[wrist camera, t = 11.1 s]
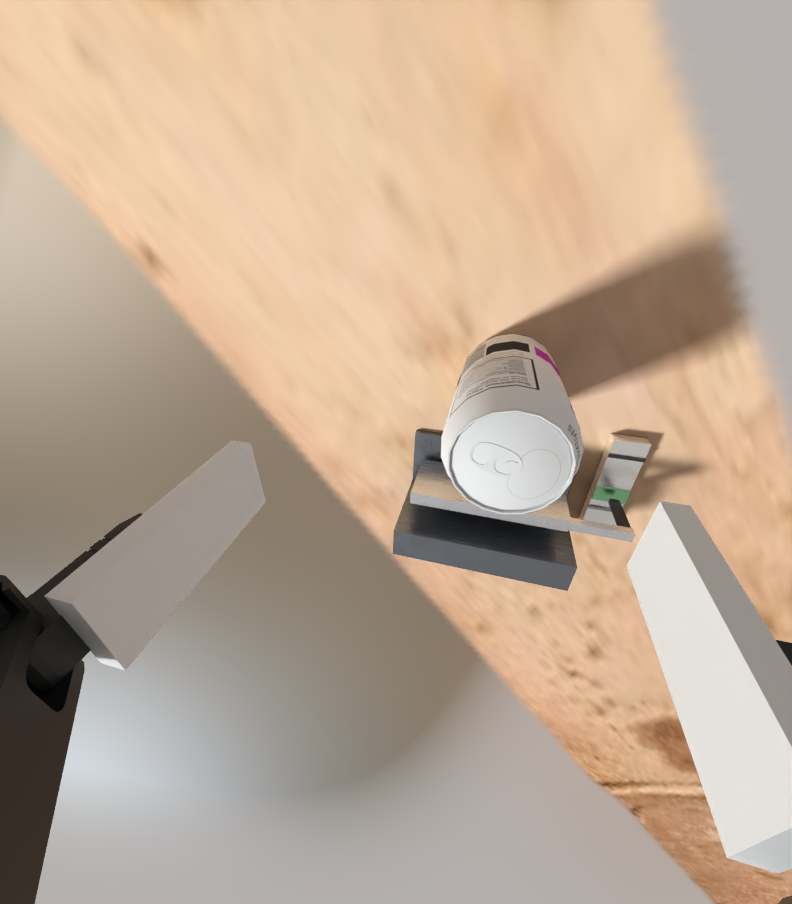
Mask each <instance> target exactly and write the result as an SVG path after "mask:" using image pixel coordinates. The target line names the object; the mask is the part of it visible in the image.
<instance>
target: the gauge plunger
mask: <svg viewBox="0 0 792 904" xmlns="http://www.w3.org/2000/svg"><path fill="white" fill-rule="evenodd" d="M410 503H412V504H418V505H423V506H429V507H434V508H440V509H445V510H451V511H456V512H462V513H467V514H472V515H478V516H483V517H489V518H494V519H500V520H505V521H511V522H516V523H522V524H527V525H532V526H538V527H543V528H549V529H554V530H560V531H565V532H568V530H570V531H575V532H581V533H586V534H592V535H597V536H602V537H608V538H613V539H619V540H624V541H630V542H632V540H633V538H634V536H635V533H634V531H633V529H632V528H631V527H630V524H629V522H628V520H627V517H626V515H625V512H624V510H623V508H622V505H621V503H620V501H619V500H617V499H611V498H610V499H609V502H608V503H609V506H610V509H611V511H612V514H613V517H614V519H615V522H616V524H617V525H611V524H605V523H600V522H594V521H588V520H582V519H577V518H571V517H570V513H569V508H568V504H567V500H566V495H565V491H564V493H563V494H562V495H561V496H560V498H558V499H557V500H555V501H554V502H552V503H550V504H549V505H547V506H546V507H544V508H543V509H539V510H536V511H532V512H528V513H525V514H499V513H495V512H491V511H488V510H484V509H481V508H480V507H478V506H476V505H475V504H473V503H471V502H469V501H468V500H466V499H465V498H464V497H463V496H462V495H461V493H460V492H459V491H458V490H457V489H456V488H455V487H454V485H453V483H452V480H451V478H450V477H449V476H448V474H447V472H446V469H445V466H444V464H443V462H437V461H431V460H425V459H423V460H422V462H421V465H420V468H419V471H418V474H417V476H416V479H415V482H414V485H413V488H412V490H411V494H410Z"/></svg>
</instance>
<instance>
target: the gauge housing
mask: <svg viewBox="0 0 792 904" xmlns="http://www.w3.org/2000/svg"><path fill="white" fill-rule="evenodd" d="M441 437H442V434H441V433H434V432H427V431H420V430H417V431H416V435H415V451H414V467H413V480H412V483H411V486H410V488H409V491H408V494H407V497H406V499H405V502H404V505H403V507H402V510H401V513H400V516H399V518H398V521H397V524H396V526H395V529H394V542H393V554H397V555H402V556H407V557H411V558H416V559H421V560H425V561H430V562H435V563H440V564H444V565H449V566H454V567H458V568H463V569H468V570H472V571H477V572H482V573H486V574H491V575H496V576H501V577H505V578H510V579H515V580H519V581H524V582H529V583H533V584H538V585H543V586H547V587H552V588H557V589H561V590H566V591H568V588H569V586H570V583H571V581H572V579H573V576H574V574H575V572H576V569H577V565H576V560H575V555H574V551H573V546H572V541H571V537H570V532H569V530H568V532H565V531H560V530H554V529H549V528H543V527H538V526H532V525H527V524H522V523H516V522H511V521H505V520H500V519H494V518H489V517H483V516H478V515H472V514H467V513H462V512H456V511H451V510H445V509H440V508H434V507H429V506H423V505H418V504H412V503H410V494H411V490H412V488H413V485H414V482H415V479H416V476H417V474H418V471H419V468H420V465H421V462H422V460H423V459H425V460H431V461H437V462H443V461H442V459H441ZM650 447H651V443H650V442H649V440H648V439H647V438H641V437H634V436H626V435H618V434H611V435H610V437H609V440H608V443H607V445H606V448H605V451H604V453H603V456H602V458H601V461H600V464H599V466H598V469H597V471H596V474H595V477H594V479H593V482H592V484H591V487H590V490H589V492H588V495H587V497H586V500H585V503H584V505H583V508H582V510H581V513H580V516H579V517H580V519H582V520H588V521H594V522H600V523H605V524H611V525H615V523H616V522H615V519H614V517H613V514H612V511H611V509H610V506H609V503H608V502H609V499H610V498H611V499H617V500H619V501H620V503H621V505H622V508H623V506H624V504H626V502H627V499H628V497H629V495H630V493H631V492H630V491H631V489H632V486H633V484H634V482H635V480H636V478H637V476H638V473H639V471H640V469H641V467H642V465H643V462H645V460H646V459H645V458H646V456H647V454H648V452H649V449H650ZM573 478H574V477H573ZM573 478H572V480H573ZM571 483H572V482H571ZM570 486H571V484H570V485H569V486H568V487H567V489H566V490H565V495H566V498H567V495H568V492H569V489H570Z"/></svg>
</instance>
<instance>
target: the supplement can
mask: <svg viewBox="0 0 792 904" xmlns="http://www.w3.org/2000/svg"><path fill="white" fill-rule="evenodd" d="M583 451H584V447H583V442H582V437H581V432H580V427H579V424H578V422H577V419H576V416H575V414H574V411H573V409H572V406H571V403H570V401H569V398H568V395H567V393H566V390H565V388H564V385H563V382H562V380H561V377H560V374H559V372H558V369H557V367H556V364H555V361H554V359H553V358H552V356H551V355H550V353H549V352H548V351H547V349H546V348H545V346H543V345H542V344H540V343H539V342H537V341H535V340H534V339H532V338H531V337H527V336H522V335H517V334H508V335H501V336H495V337H493V338H491V339H489V340H487V341H485V342H483V343H481V344H480V345H478V347H477V348H476V349H475V350H474V351H473V352H472V353H471V354H470V355H469V356H468V357H467V360H466V362H465V364H464V367H463V369H462V371H461V374H460V378H459V381H458V384H457V388H456V391H455V394H454V397H453V401H452V404H451V407H450V411H449V414H448V417H447V421H446V424H445V427H444V430H443V434H442V437H441V459H442V461H443V464H444V466H445V469H446V472H447V474H448V476H449V477H450V478H451V480H452V483H453V485H454V487H455V488H456V489H457V490H458V491H459V492H460V493H461V495H462V496H463V497H464V498H465V499H466V500H468V501H469V502H471V503H473V504H475V505H476V506H478V507H480V508H481V509H484V510H488V511H491V512H495V513H499V514H525V513H528V512H532V511H536V510H539V509H543V508H544V507H546V506H547V505H549V504H550V503H552V502H554V501H555V500H557V499H558V498H560V496H561V495H562V494H563V493H564V491H565V490H566V489H567V487H568V486H569V485H570V484H571V482H572V478H573V477H574V475H575V474H576V473H577V471H578V470H579V466H580V462H581V458H582V454H583Z"/></svg>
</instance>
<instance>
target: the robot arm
mask: <svg viewBox="0 0 792 904" xmlns="http://www.w3.org/2000/svg"><path fill="white" fill-rule="evenodd" d="M264 503H265V497H264V493H263V489H262V485H261V482H260V478H259V474H258V470H257V466H256V462H255V459H254V454H253V450H252V447H251V444H250V443H245V442H239V441H231V442H230V443H228V444H227V445H226V446H225V447H223V448H222V449H221V450H220V451H219V452H217V453H216V454H215V455H214V456H213V457H211V458H210V459H209V460H208V461H207V462H205V463H204V464H203V465H202V466H201V467H199V468H198V469H197V470H196V471H194V472H193V473H192V474H191V475H190V476H188V477H187V478H186V479H185V480H184V481H182V482H181V483H180V484H179V485H178V486H176V487H175V488H174V489H173V490H172V491H170V492H169V493H168V494H167V495H166V496H164V497H163V498H162V499H161V500H160V501H158V502H157V503H156V504H155V505H153V506H152V507H151V508H150V509H149V510H147V511H146V512H145V513H144V514H138V515H136V516H134V517H132V518H130V519H128V520H126V521H124V522H122V523H120V524H119V525H118V526H116V527H115V528H114V529H113V530H111V531H110V532H109V533H108V534H106V535H105V536H104V537H103V539H102V540H99V541H98V542H97V543H95V544H94V545H93V546H92V547H90V549H89V551H88V552H87V551H85V552H84V553H83V554H82V555H80V556H79V557H78V558H77V559H75V560H74V561H73V562H72V563H71V564H69V565H68V566H67V567H65V568H64V569H63V570H62V571H60V572H59V573H58V574H57V575H55V576H54V577H53V578H52V579H50V580H49V581H48V582H47V583H45V584H44V585H43V586H42V587H40V588H39V589H38V590H37V591H36V592H34V593H33V594H31V595H30V596H29V597H27V598H25V596H24V595H23V594H22V593H21V592H20V591H19V590H18V589H17V588H16V587H15V585H14V584H13V583H12V582H11V581H10V580H9V579H8V578H7V577H6V576H3V575H0V904H34V903H35V899H36V894H37V889H38V885H39V880H40V875H41V871H42V866H43V861H44V856H45V852H46V847H47V843H48V838H49V833H50V829H51V824H52V819H53V815H54V810H55V806H56V800H57V796H58V792H59V787H60V782H61V778H62V773H63V768H64V764H65V759H66V754H67V749H68V745H69V740H70V735H71V731H72V726H73V722H74V717H75V712H76V707H77V703H78V698H79V694H80V689H81V684H82V680H83V675H84V662H83V661H82V659H83V657H84V656H85V655H86V654H87V653H88V652H89V651H91V652H92V653H93V654H94V655H95V657H96V658H97V659H98V660H99V661H100V662H101V663H103V664H106V665H110V666H112V667H116V668H119V669H122V670H126V669H127V668H128V667H129V666H130V664H131V663H132V662H133V661H134V660H135V658H136V657H137V656H138V655H139V654H140V652H141V651H142V650H143V649H144V648H145V646H146V645H147V644H148V643H149V641H150V640H151V639H152V638H153V637H154V636H155V634H156V633H157V632H158V631H159V630H160V628H161V627H162V626H163V625H164V623H165V622H166V621H167V620H168V619H169V617H170V616H171V615H172V614H173V613H174V612H175V610H176V609H177V608H178V607H179V606H180V604H181V603H182V602H183V601H184V599H185V598H186V597H187V596H188V595H189V593H190V592H191V591H192V590H193V589H194V587H195V586H196V585H197V584H198V583H199V581H200V580H201V579H202V578H203V577H204V575H205V574H206V573H207V572H208V571H209V569H210V568H211V567H212V566H213V564H214V563H215V562H216V561H217V560H218V559H219V557H220V556H221V555H222V554H223V552H224V551H225V550H226V549H227V548H228V546H229V545H230V544H231V543H232V542H233V541H234V539H235V538H236V537H237V536H238V535H239V533H240V532H241V531H242V530H243V529H244V527H245V526H246V525H247V524H248V523H249V521H250V520H251V519H252V518H253V517H254V515H255V514H256V513H257V512H258V511H259V509H260V508H261V507H262V506H263V505H264ZM627 568H628V571H629V574H630V577H631V580H632V583H633V586H634V589H635V592H636V594H637V597H638V600H639V603H640V606H641V609H642V612H643V615H644V618H645V621H646V624H647V626H648V629H649V632H650V635H651V638H652V641H653V644H654V647H655V650H656V653H657V656H658V658H659V661H660V664H661V667H662V670H663V673H664V676H665V679H666V682H667V685H668V688H669V690H670V693H671V696H672V699H673V702H674V705H675V708H676V711H677V714H678V717H679V720H680V722H681V725H682V728H683V731H684V734H685V737H686V740H687V743H688V746H689V749H690V752H691V754H692V757H693V760H694V763H695V766H696V769H697V772H698V775H699V778H700V781H701V784H702V786H703V789H704V792H705V795H706V798H707V801H708V804H709V807H710V810H711V813H712V816H713V818H714V821H715V824H716V827H717V830H718V833H719V836H720V839H721V842H722V845H723V848H724V850H725V853H726V856H727V858H729V859H732V860H736V861H739V862H742V863H745V864H748V865H752V866H755V867H758V868H761V869H765V870H768V871H771V872H774V873H777V874H778V873H781V872H784V871H787V870H789V869H792V643H788V642H783V641H778V640H775V638H774V637H773V635H772V634H771V632H770V631H769V629H768V627H767V626H766V624H765V623H764V621H763V620H762V618H761V616H760V615H759V613H758V612H757V610H756V608H755V607H754V605H753V604H752V602H751V601H750V599H749V597H748V596H747V594H746V593H745V591H744V590H743V588H742V586H741V585H740V583H739V582H738V580H737V578H736V577H735V575H734V574H733V572H732V571H731V569H730V567H729V566H728V564H727V563H726V561H725V559H724V558H723V556H722V555H721V553H720V552H719V550H718V548H717V547H716V545H715V544H714V542H713V541H712V539H711V537H710V536H709V534H708V533H707V531H706V529H705V528H704V526H703V525H702V523H701V522H700V520H699V518H698V517H697V515H696V514H695V512H694V511H693V509H692V507H691V506H689V505H682V504H675V503H668V502H661V501H660V502H659V504H658V506H657V508H656V510H655V512H654V514H653V516H652V518H651V520H650V522H649V524H648V526H647V528H646V530H645V531H644V533H643V535H642V537H641V539H640V541H639V543H638V545H637V547H636V549H635V551H634V553H633V555H632V557H631V559H630V561H629V563H628V565H627ZM778 904H792V896H789V897H786V898H783V899H782V900H781V901H780V902H779V903H778Z"/></svg>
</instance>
